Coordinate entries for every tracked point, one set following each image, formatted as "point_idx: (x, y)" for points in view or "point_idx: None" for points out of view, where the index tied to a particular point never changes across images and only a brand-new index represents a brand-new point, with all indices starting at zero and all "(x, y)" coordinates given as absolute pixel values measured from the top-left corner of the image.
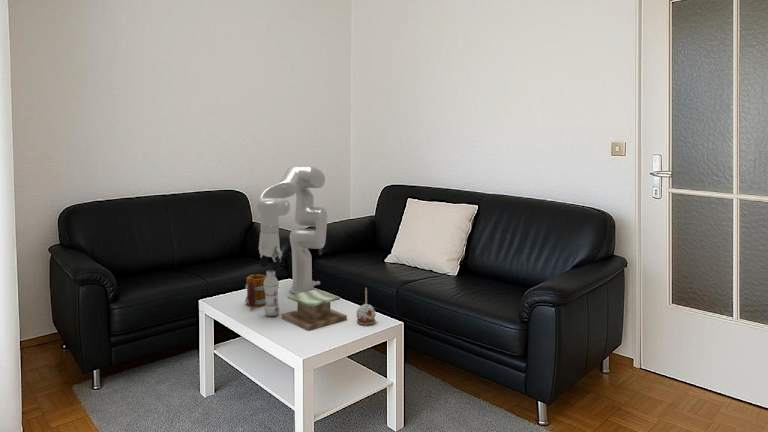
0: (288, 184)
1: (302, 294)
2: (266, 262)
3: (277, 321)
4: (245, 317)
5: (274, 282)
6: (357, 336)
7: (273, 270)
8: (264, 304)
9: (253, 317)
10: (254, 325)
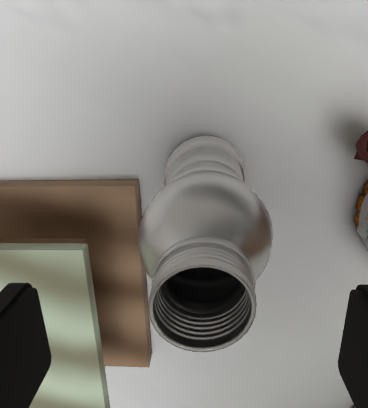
0: None
1: (62, 325)
2: (365, 401)
3: (111, 142)
4: (271, 42)
5: (140, 246)
6: None
7: (7, 284)
8: (358, 216)
9: (241, 78)
10: (124, 16)
